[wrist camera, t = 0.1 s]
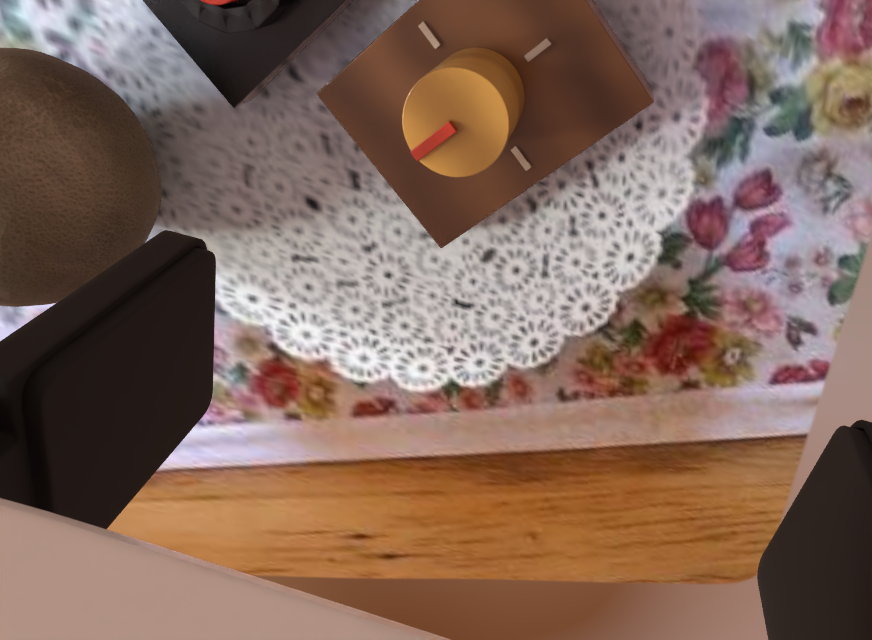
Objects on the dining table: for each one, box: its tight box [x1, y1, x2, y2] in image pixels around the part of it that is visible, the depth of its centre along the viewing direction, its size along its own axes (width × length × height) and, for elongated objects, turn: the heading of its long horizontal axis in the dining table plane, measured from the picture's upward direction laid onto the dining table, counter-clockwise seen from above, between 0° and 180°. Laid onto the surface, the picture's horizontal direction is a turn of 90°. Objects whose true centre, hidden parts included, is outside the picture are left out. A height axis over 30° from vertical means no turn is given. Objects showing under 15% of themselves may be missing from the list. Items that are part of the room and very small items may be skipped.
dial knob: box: [402, 48, 525, 177], centre depth 36 cm, size 5×5×6 cm
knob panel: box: [317, 0, 654, 248], centre depth 40 cm, size 14×11×3 cm
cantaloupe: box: [0, 48, 161, 307], centre depth 42 cm, size 14×14×15 cm
